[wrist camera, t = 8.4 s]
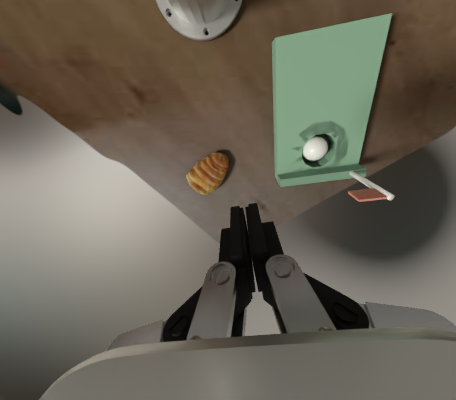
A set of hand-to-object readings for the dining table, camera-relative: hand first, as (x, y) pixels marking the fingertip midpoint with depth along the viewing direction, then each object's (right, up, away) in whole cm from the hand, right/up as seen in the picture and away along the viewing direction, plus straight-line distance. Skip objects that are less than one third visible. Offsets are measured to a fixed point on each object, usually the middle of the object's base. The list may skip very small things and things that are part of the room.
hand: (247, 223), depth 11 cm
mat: (+15, +17, +20) cm, 30 cm away
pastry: (-6, +8, +26) cm, 28 cm away
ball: (+15, +11, +21) cm, 27 cm away
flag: (+19, +9, +24) cm, 32 cm away
